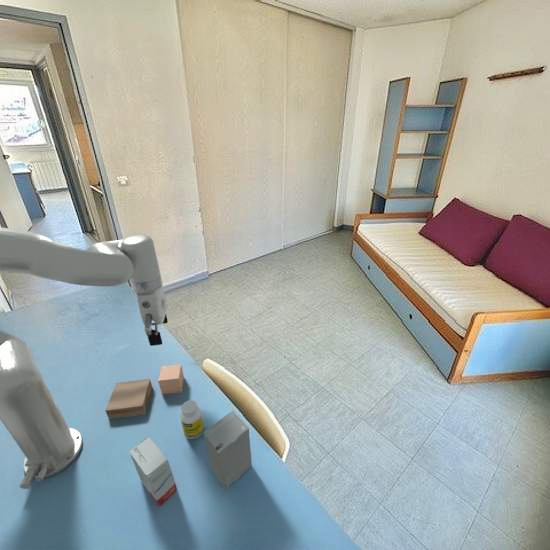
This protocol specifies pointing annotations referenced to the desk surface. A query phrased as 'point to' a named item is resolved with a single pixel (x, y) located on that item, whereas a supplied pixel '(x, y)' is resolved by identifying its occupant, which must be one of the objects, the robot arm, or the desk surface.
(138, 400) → the walnut block
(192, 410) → the supplement bottle
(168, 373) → the terracotta cube
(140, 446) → the ink box
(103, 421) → the desk surface
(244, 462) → the skincare box
